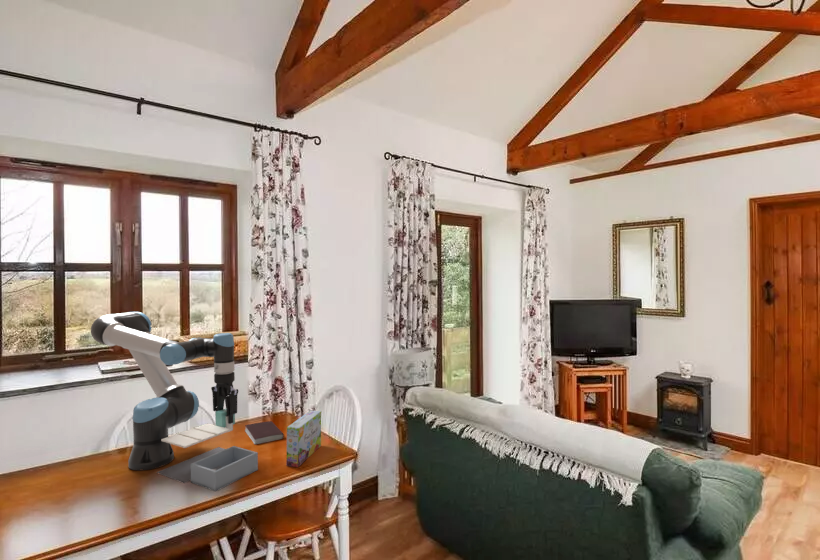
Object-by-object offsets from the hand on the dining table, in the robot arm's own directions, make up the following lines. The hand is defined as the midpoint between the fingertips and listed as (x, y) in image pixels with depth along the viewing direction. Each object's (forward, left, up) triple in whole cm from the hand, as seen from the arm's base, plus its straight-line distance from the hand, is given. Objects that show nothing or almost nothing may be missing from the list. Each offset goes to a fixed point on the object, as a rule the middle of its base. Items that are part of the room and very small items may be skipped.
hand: (225, 430), depth 176 cm
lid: (0, -10, +2) cm, 10 cm away
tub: (+16, -13, -10) cm, 23 cm away
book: (-3, +22, -11) cm, 25 cm away
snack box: (+29, +14, -10) cm, 34 cm away
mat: (0, -10, -10) cm, 14 cm away
